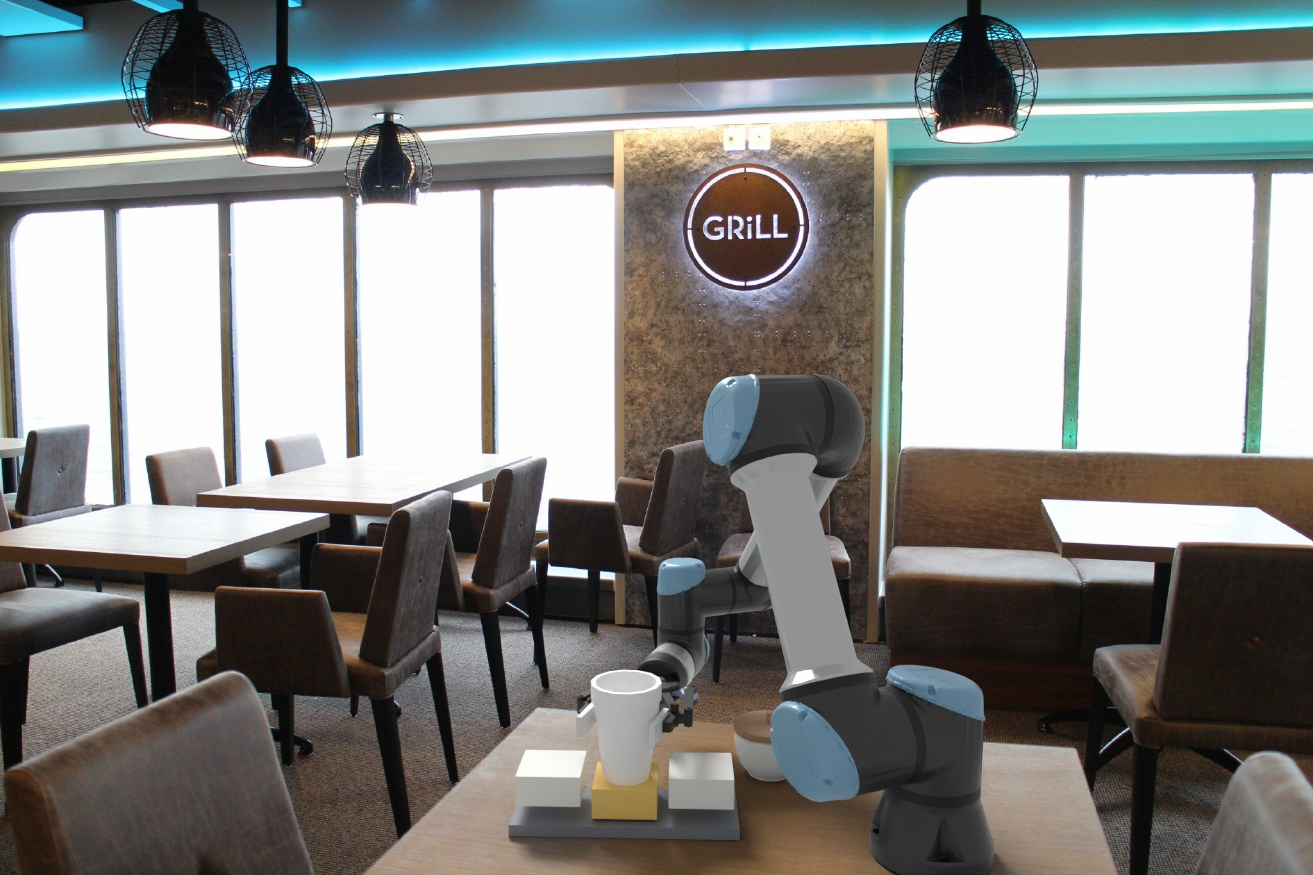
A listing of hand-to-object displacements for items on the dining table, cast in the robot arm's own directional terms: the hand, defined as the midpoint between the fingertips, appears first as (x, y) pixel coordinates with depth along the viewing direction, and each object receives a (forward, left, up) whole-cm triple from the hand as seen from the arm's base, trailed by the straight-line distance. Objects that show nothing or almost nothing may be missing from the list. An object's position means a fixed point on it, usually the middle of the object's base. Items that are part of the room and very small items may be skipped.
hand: (615, 731), depth 127 cm
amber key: (+2, -4, -12) cm, 13 cm away
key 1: (+9, +3, -10) cm, 14 cm away
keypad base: (+2, -4, -14) cm, 15 cm away
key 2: (-5, -11, -10) cm, 16 cm away
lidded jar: (-2, -29, -14) cm, 32 cm away
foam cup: (+2, -4, -8) cm, 9 cm away
